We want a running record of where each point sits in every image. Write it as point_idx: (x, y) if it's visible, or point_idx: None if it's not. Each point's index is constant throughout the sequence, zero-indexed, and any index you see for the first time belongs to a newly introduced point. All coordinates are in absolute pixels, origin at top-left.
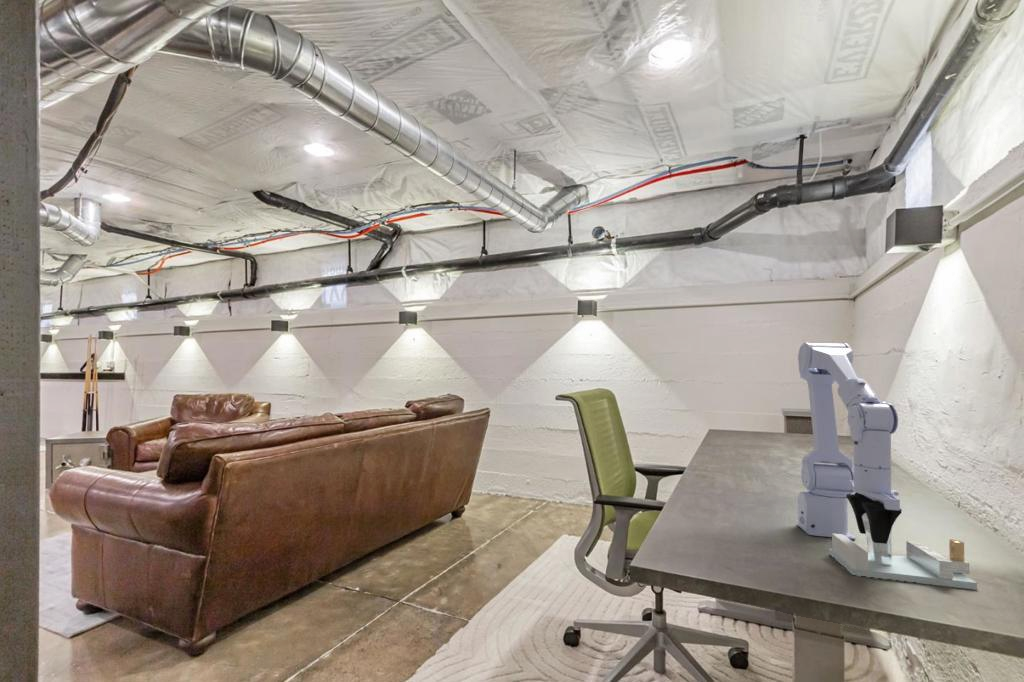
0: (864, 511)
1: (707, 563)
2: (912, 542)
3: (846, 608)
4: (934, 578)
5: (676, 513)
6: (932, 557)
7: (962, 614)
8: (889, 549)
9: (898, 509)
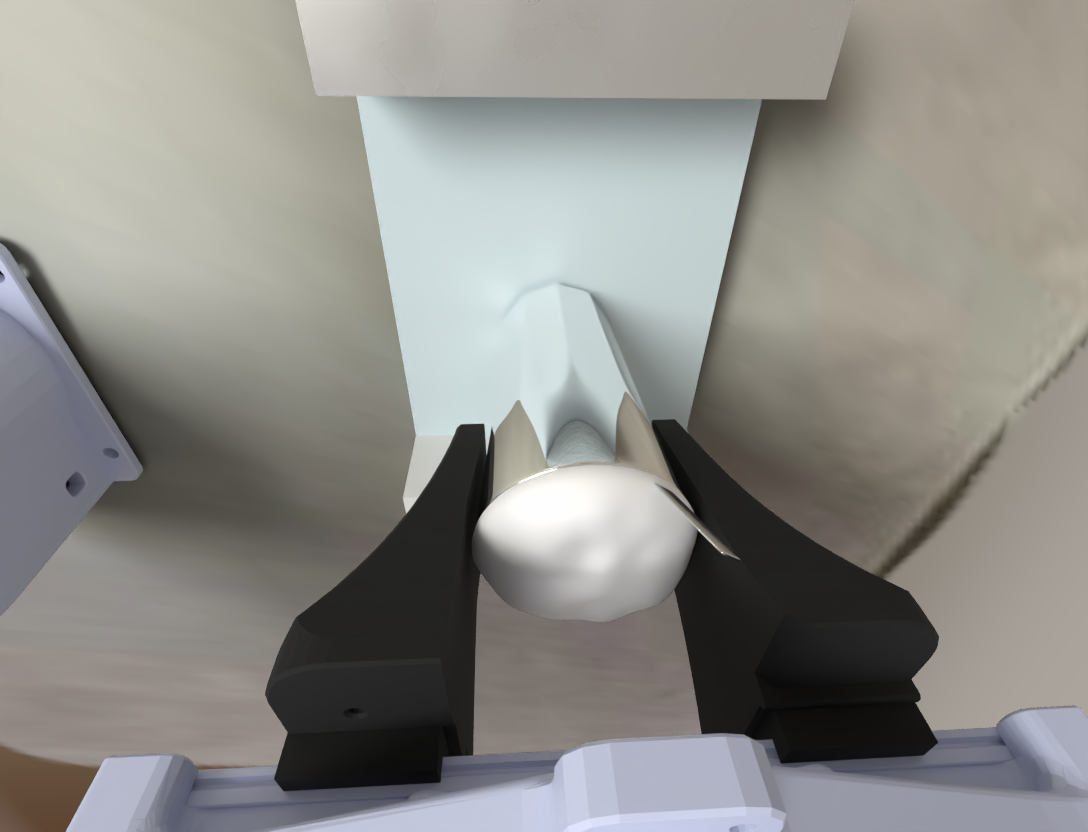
0: (471, 603)
1: (644, 717)
2: (356, 59)
3: (920, 545)
4: (756, 115)
5: (208, 754)
6: (730, 97)
7: (1067, 193)
8: (619, 355)
9: (1079, 722)
